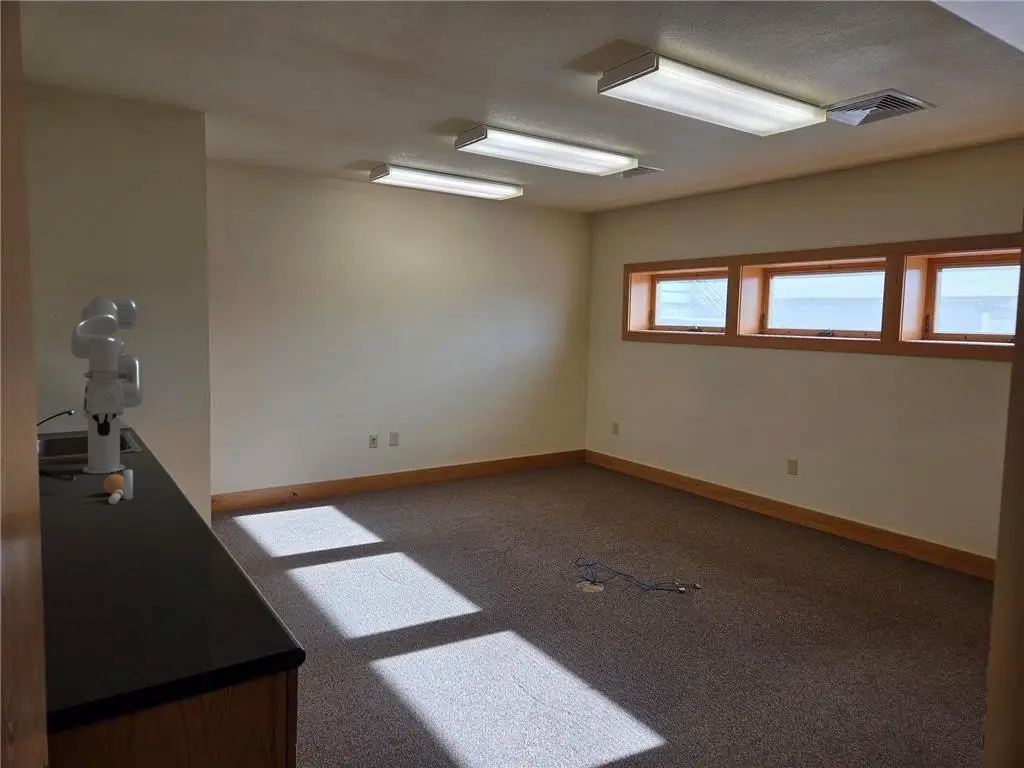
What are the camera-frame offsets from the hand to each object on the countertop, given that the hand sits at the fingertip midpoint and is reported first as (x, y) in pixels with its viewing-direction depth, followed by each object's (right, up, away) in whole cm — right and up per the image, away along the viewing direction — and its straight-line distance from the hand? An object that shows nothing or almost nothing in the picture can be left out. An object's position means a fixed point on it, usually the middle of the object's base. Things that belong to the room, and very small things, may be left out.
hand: (103, 435), depth 206 cm
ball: (+6, -15, -4) cm, 16 cm away
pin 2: (+12, -18, -8) cm, 23 cm away
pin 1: (+9, -17, -7) cm, 20 cm away
